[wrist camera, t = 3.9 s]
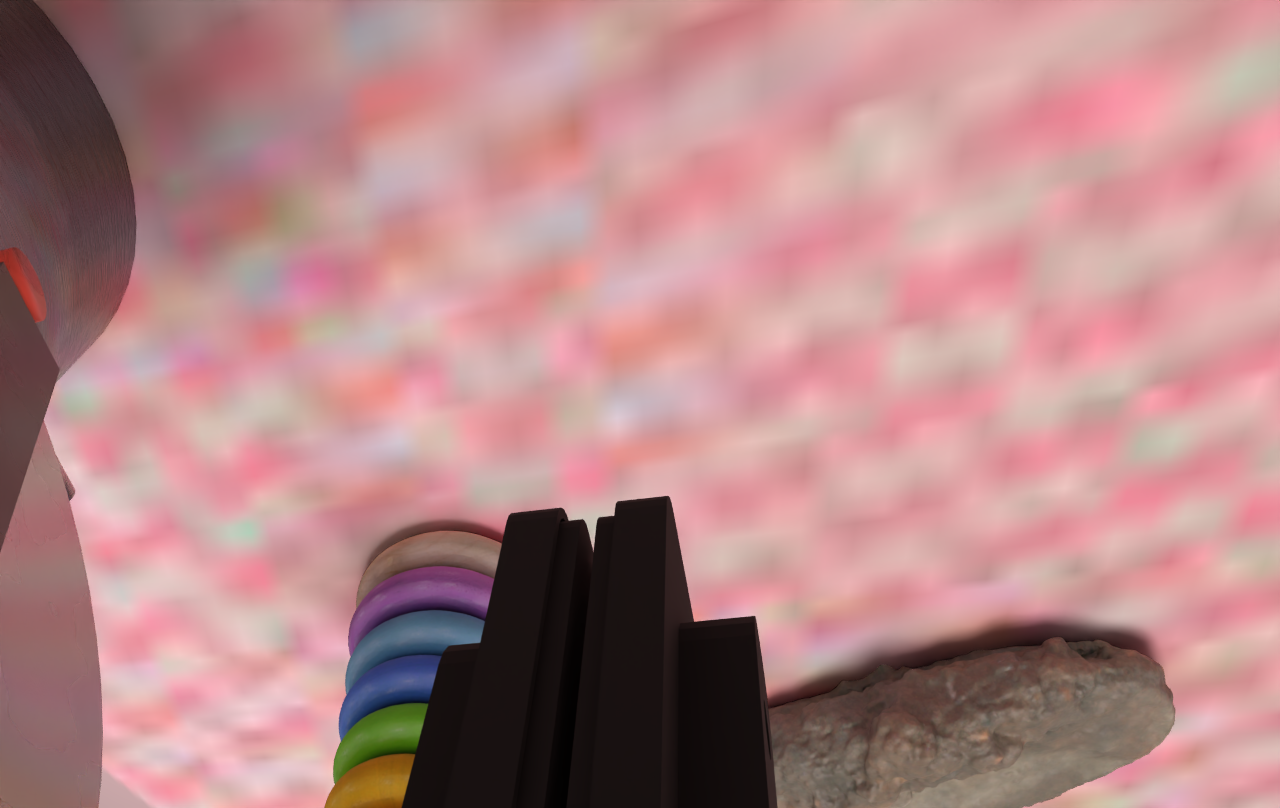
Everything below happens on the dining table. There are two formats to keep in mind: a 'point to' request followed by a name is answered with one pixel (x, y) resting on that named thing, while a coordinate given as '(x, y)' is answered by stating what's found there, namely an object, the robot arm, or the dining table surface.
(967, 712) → the elongated rock
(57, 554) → the cooker lid
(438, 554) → the stacking toy
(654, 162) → the dining table surface
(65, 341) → the cooker pot
